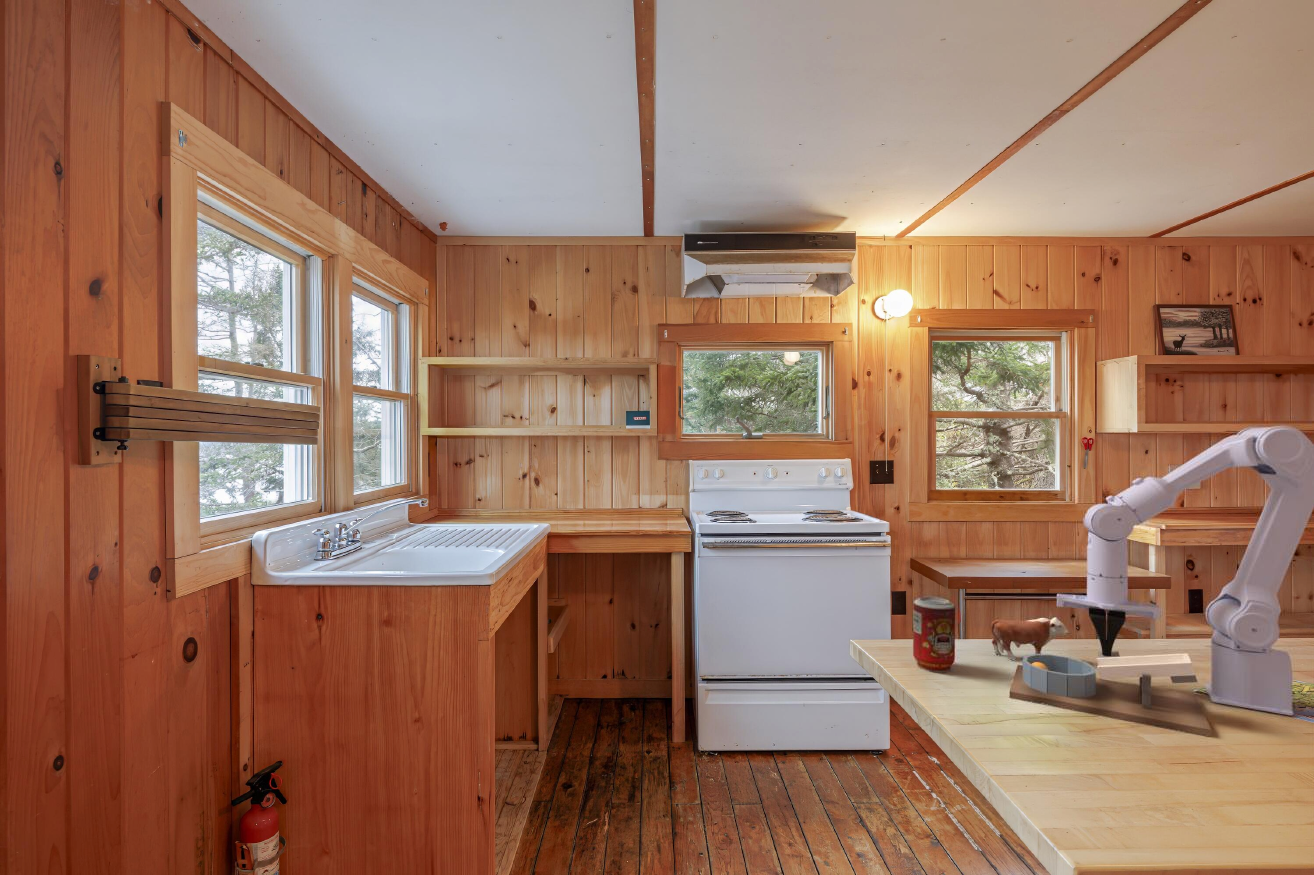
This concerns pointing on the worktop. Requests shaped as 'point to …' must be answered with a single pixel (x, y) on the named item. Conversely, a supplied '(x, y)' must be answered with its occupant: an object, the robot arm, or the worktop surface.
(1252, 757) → the worktop surface
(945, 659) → the soda can
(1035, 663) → the ball
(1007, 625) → the bull figurine
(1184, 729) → the base board
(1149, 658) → the tilted wooden ramp
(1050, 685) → the bowl
